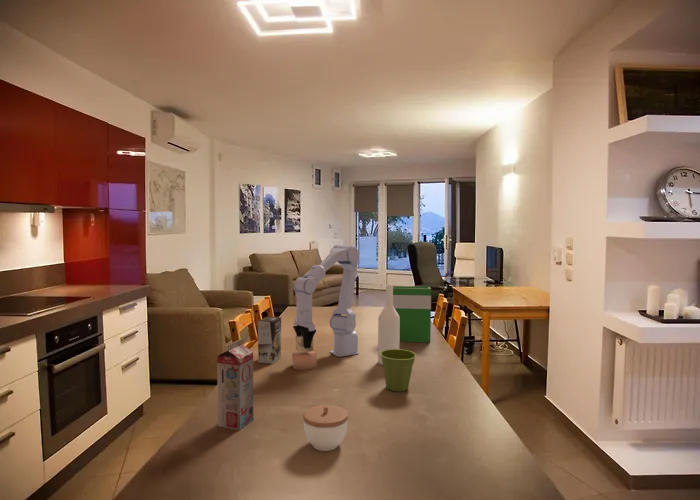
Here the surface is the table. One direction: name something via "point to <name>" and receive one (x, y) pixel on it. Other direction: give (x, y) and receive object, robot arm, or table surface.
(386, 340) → the bottle
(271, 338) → the coffee box
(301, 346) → the maple cube
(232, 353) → the juice carton
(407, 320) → the hardback book
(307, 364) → the salmon pink cylinder
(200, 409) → the table surface
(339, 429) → the lidded jar
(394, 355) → the plant pot
